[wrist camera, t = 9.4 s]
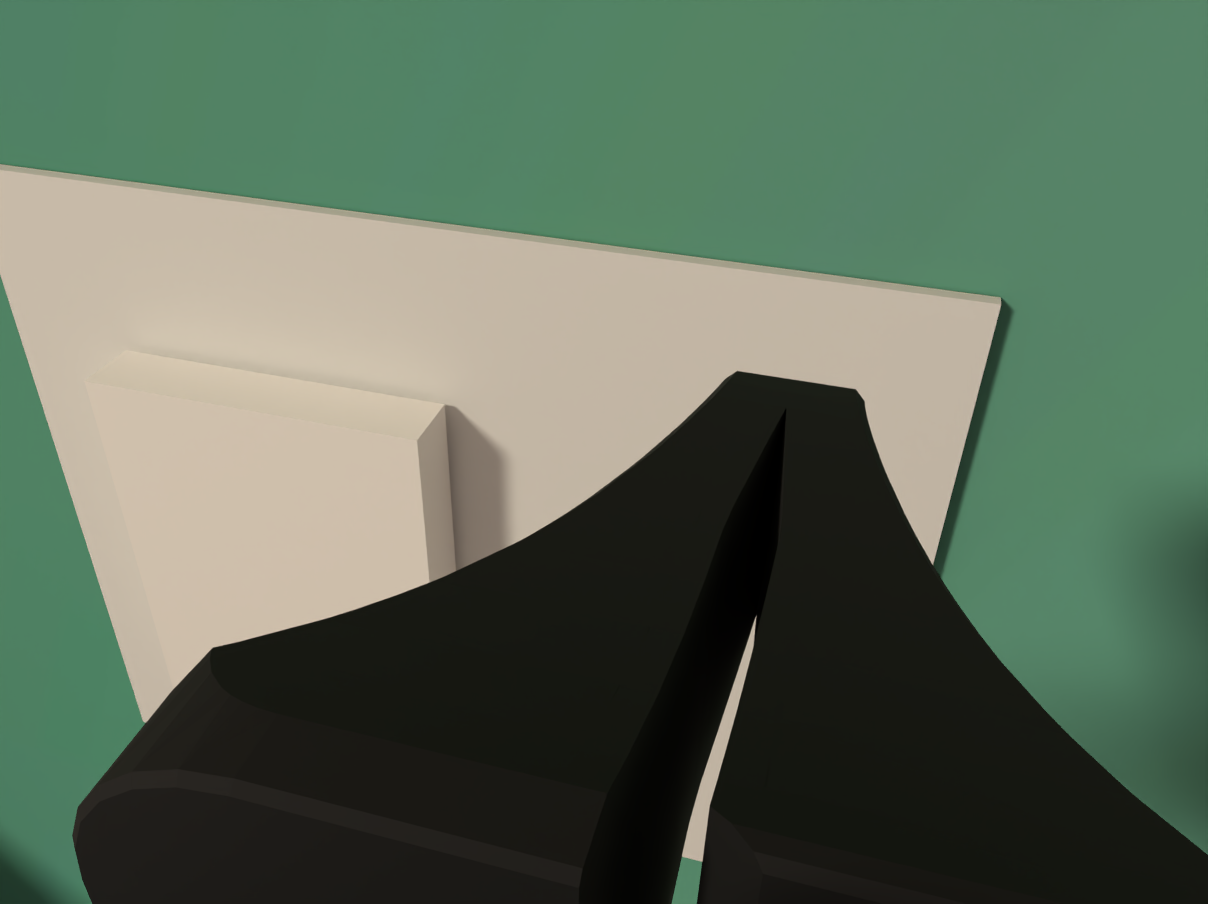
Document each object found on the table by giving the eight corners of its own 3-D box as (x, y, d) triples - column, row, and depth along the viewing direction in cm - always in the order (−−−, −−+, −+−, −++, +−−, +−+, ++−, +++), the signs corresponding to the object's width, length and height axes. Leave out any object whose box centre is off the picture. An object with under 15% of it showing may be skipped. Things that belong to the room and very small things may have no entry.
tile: (417, 439, 22) (84, 381, 24) (445, 759, 28) (174, 693, 29) (447, 399, 23) (131, 346, 25) (468, 711, 29) (209, 651, 31)
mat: (1000, 297, 19) (1001, 304, 19) (846, 887, 29) (845, 897, 29) (-25, 160, 24) (-35, 165, 23) (149, 714, 34) (143, 721, 34)
